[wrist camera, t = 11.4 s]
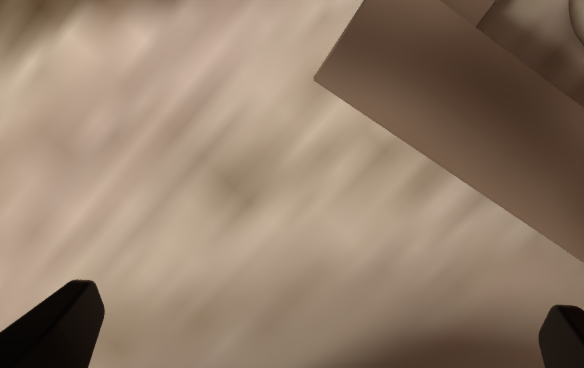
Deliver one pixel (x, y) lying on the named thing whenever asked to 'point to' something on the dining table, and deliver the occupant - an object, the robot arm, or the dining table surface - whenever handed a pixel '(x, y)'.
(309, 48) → the dining table surface
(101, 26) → the dining table surface
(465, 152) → the brown flat piece
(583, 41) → the red and beige cylinder
